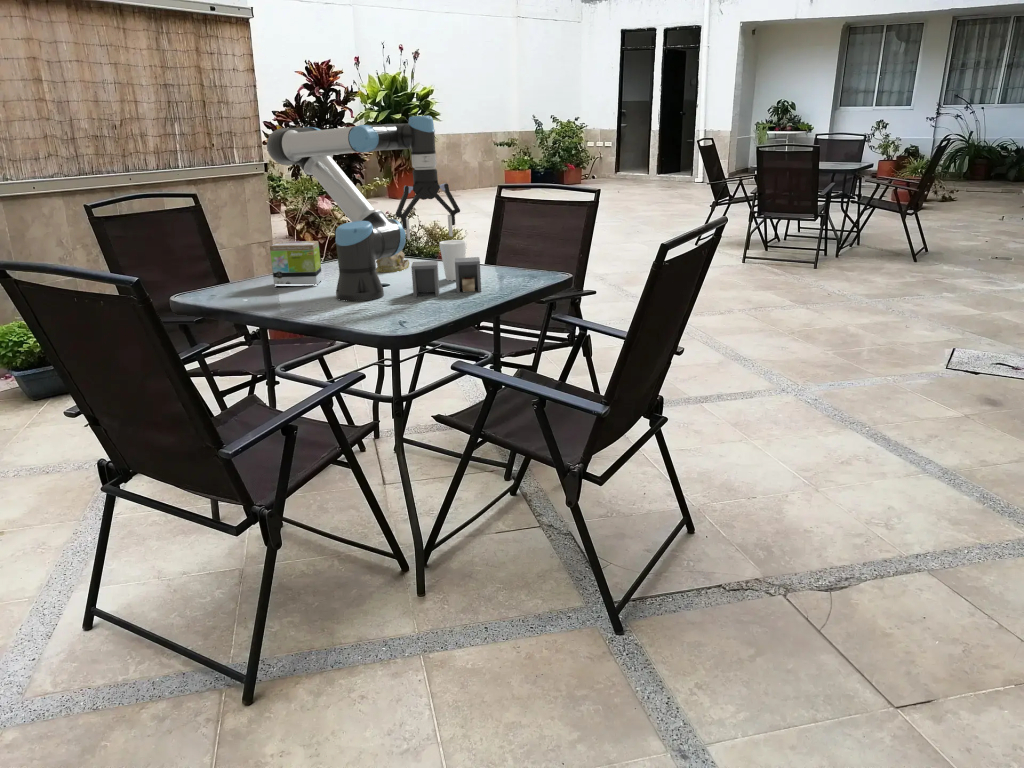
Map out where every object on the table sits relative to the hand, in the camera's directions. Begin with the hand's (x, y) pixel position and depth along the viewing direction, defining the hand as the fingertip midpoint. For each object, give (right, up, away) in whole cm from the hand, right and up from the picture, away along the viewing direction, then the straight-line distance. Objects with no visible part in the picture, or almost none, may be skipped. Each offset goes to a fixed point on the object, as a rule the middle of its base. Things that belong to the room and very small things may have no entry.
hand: (429, 237), depth 248 cm
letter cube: (+12, -16, +9) cm, 22 cm away
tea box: (-49, -12, +27) cm, 57 cm away
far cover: (+12, -16, +9) cm, 21 cm away
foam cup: (+6, -10, +27) cm, 30 cm away
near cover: (-2, -17, +5) cm, 18 cm away
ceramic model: (-20, -3, +50) cm, 54 cm away
